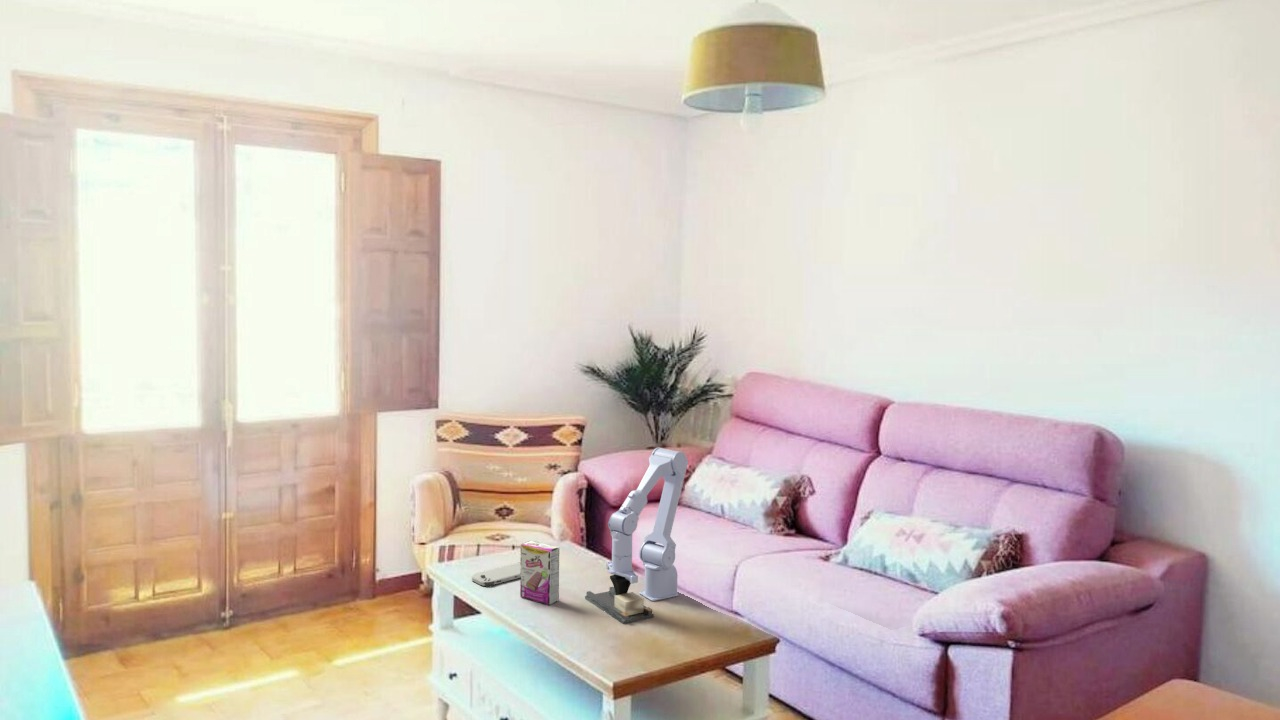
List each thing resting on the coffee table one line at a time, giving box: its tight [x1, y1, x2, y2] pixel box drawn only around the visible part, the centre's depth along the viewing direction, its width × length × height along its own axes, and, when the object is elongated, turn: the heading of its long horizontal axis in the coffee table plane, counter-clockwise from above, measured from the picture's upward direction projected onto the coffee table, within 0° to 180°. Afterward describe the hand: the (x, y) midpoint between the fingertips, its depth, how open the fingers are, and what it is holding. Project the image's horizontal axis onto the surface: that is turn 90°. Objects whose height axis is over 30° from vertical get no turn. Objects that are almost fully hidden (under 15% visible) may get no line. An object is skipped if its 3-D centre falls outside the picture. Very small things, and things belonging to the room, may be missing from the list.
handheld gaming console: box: [471, 561, 521, 588], centre depth 285 cm, size 23×3×10 cm
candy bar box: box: [519, 540, 560, 606], centre depth 264 cm, size 11×5×16 cm, turn 58°
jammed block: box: [614, 591, 645, 615], centre depth 254 cm, size 6×6×4 cm
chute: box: [584, 586, 655, 625], centre depth 259 cm, size 10×22×2 cm, turn 32°
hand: (621, 600), depth 258 cm, fingers closed
